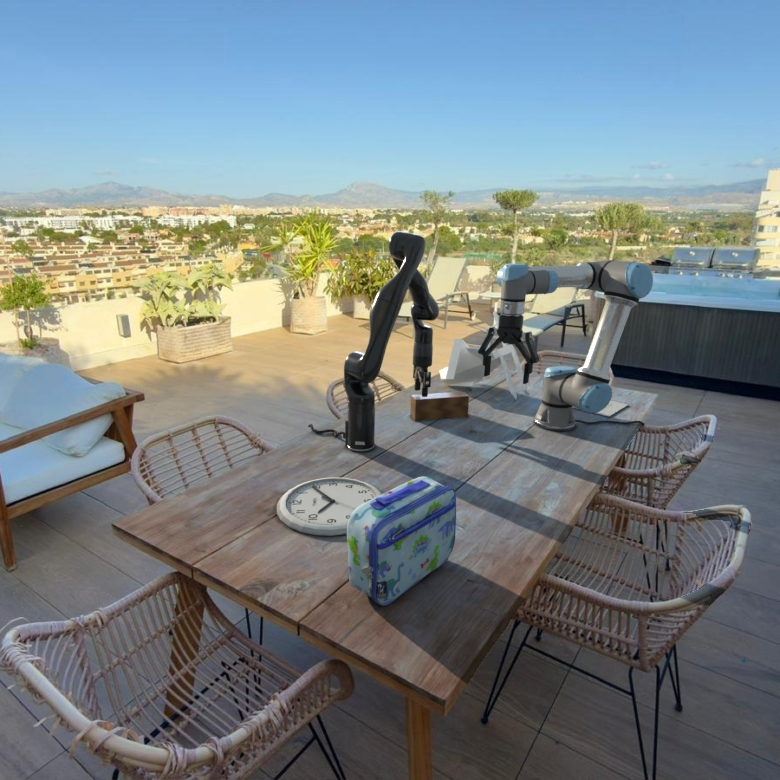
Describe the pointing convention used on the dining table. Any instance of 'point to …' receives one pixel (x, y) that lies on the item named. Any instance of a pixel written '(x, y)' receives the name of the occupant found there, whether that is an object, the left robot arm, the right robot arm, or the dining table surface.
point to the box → (439, 406)
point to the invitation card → (611, 408)
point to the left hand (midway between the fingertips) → (420, 393)
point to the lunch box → (400, 538)
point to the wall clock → (324, 504)
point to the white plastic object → (480, 364)
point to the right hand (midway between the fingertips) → (505, 379)
